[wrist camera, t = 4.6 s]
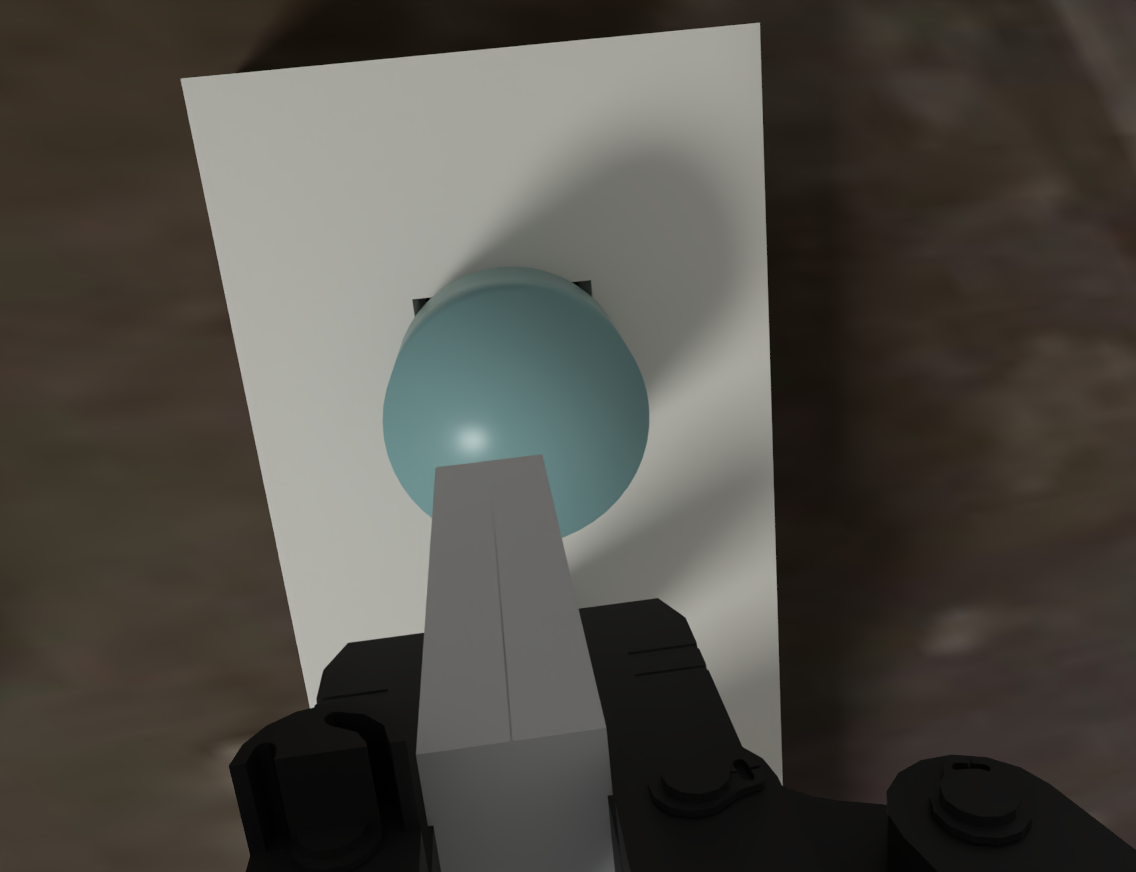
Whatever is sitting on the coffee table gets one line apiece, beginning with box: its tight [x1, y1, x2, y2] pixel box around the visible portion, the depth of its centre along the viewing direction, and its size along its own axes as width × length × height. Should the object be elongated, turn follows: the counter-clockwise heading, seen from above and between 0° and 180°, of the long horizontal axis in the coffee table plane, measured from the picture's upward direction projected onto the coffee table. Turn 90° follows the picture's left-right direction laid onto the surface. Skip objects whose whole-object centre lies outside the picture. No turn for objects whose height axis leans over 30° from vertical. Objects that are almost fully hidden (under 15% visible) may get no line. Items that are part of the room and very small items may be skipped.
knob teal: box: [383, 267, 649, 538], centre depth 23 cm, size 5×5×7 cm
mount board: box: [181, 23, 783, 786], centre depth 27 cm, size 12×28×4 cm, turn 5°
